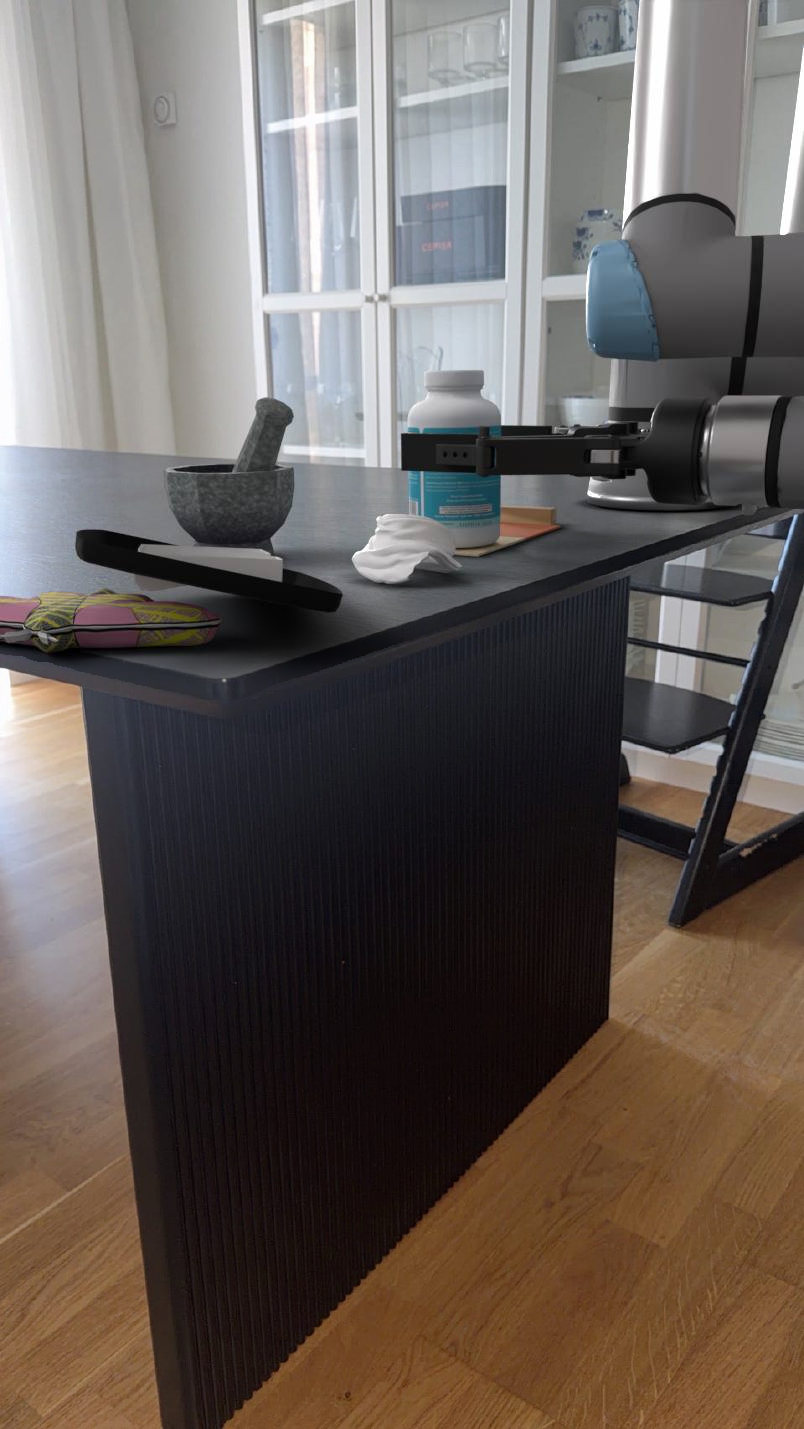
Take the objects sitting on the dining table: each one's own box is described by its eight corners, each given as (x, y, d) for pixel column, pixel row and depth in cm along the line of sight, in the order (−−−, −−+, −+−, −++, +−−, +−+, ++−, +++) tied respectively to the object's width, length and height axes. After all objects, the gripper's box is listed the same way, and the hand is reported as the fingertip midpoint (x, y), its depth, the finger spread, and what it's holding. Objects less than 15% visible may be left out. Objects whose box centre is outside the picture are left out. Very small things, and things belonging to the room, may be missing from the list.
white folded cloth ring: (335, 589, 75) (324, 519, 73) (402, 567, 79) (393, 502, 77) (415, 595, 69) (406, 521, 68) (483, 572, 73) (475, 501, 72)
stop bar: (496, 521, 101) (497, 504, 101) (556, 525, 99) (556, 507, 98) (490, 523, 100) (491, 506, 100) (550, 527, 97) (551, 509, 97)
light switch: (54, 578, 48) (352, 638, 51) (65, 514, 47) (365, 579, 51) (86, 557, 67) (303, 602, 70) (94, 511, 66) (312, 559, 70)
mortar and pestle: (144, 561, 81) (130, 398, 78) (231, 546, 88) (222, 396, 85) (250, 576, 75) (240, 398, 71) (335, 558, 82) (330, 396, 78)
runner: (480, 523, 101) (480, 521, 101) (560, 527, 97) (560, 525, 97) (388, 550, 86) (388, 547, 85) (478, 556, 82) (478, 554, 82)
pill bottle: (518, 542, 87) (522, 369, 83) (459, 553, 82) (459, 369, 78) (450, 534, 92) (450, 370, 88) (390, 544, 87) (387, 371, 83)
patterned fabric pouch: (251, 587, 59) (182, 631, 50) (253, 625, 60) (185, 675, 50) (-20, 579, 62) (-134, 619, 53) (-15, 615, 63) (-126, 660, 53)
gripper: (662, 526, 66) (366, 511, 76) (743, 489, 87) (503, 480, 97) (670, 401, 64) (364, 401, 73) (751, 393, 85) (504, 394, 94)
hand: (442, 446), depth 85 cm, fingers open, 13 cm apart
